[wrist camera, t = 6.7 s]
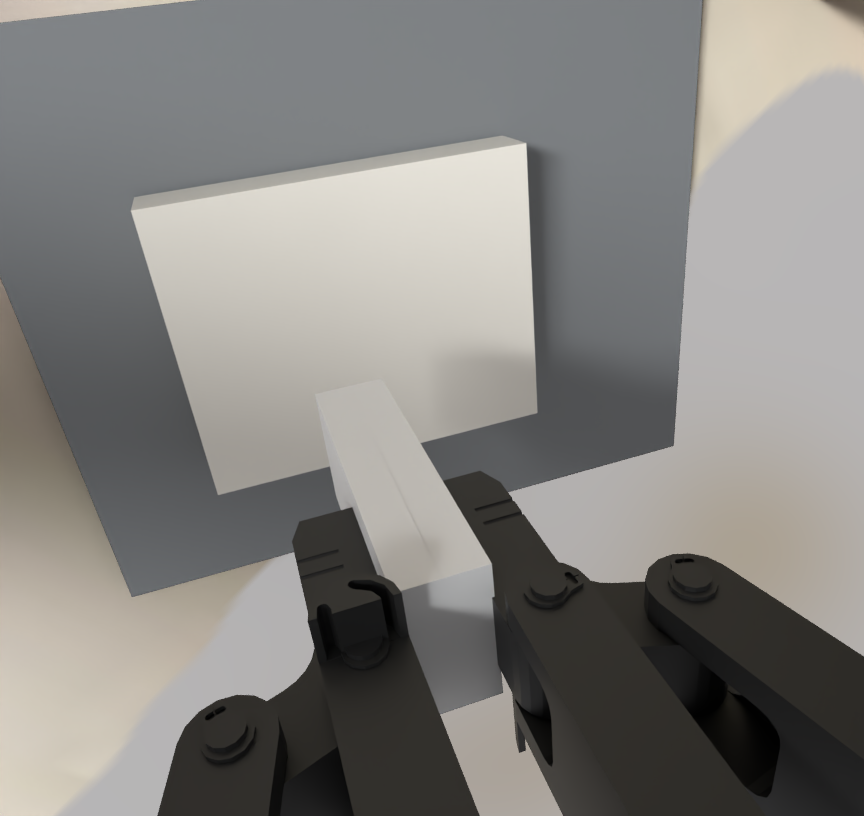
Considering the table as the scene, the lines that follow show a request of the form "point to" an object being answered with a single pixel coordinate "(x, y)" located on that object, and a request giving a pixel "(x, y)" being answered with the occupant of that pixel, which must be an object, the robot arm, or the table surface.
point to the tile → (347, 298)
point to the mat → (322, 145)
